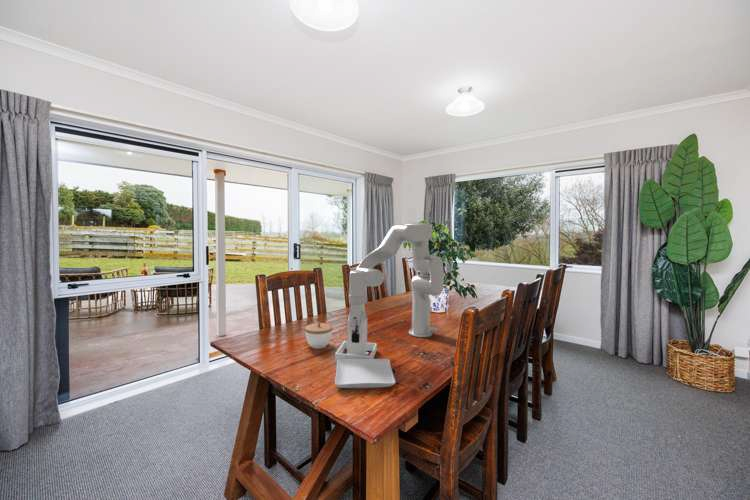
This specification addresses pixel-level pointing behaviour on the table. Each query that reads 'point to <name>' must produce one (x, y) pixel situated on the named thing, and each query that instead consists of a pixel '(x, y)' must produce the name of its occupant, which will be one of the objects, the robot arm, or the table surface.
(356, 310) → the robot arm
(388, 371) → the salad plate
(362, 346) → the milk carton
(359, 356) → the square tray
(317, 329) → the lidded bowl
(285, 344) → the table surface
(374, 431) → the table surface
